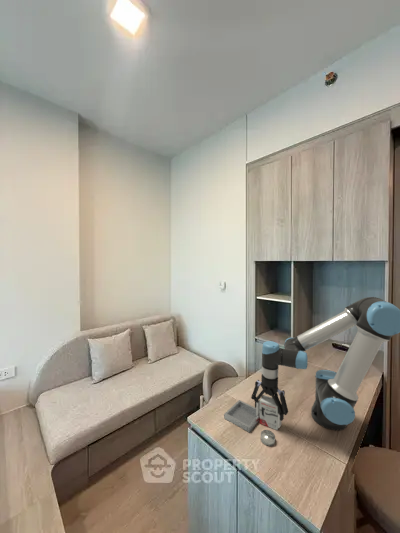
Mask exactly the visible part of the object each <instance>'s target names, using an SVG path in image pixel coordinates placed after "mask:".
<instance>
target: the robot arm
mask: <svg viewBox="0 0 400 533" xmlns="http://www.w3.org/2000/svg"><path fill="white" fill-rule="evenodd" d="M355 326H356V328H357V332H356V334H355V336H354V338H353V340H352V342H351V344H350V346H349V348H348V350H347V352H346V354H345V356H344V358H343V360H342V362H341V364H340V366H339V368H338V370H337V372H336V371H333V370H330V369H319V370H316V372H315V376H314V377H315V398H314V399H315V400H314V402H313V404H312V406H311V413H310V414H311V418H312V420H314V422H316V424H319V425H320V426H322V427H324V428H325V429H328V430H331V431H332V430H333V431H342V430H345V429H347V426H348V425H349V424H352V423H353V422H354V420H355V418H356V412H355V411H356V410H355V409H354V408H355V406H356V404H357V402H358V401H359V396H358V393H357V391H359V390H358V389H359V388H360V386H361V384H362V382H363V380H364V379H365V377H366V375H367V372H368V371H369V369H370V368H371V366H372V363H373V361H374V359H375V358H376V356H377V354H378V352H379V350H380V348H381V346H382V345H383V343H386V342H390V340H391V339H392V337H393V336H395V335H398V334H399V333H400V308H399V307H397V306H396V305H395V304H393V303H391V302H389V301H386V300H383V299H382V298H380V297H374V296H368V297H367V296H366V297H364V298H361V299H359V300H357V301H355V302H353V303H351V304H350V305H347V306H346V307H345V308H344V310H343V311H341V312H340V313H337V314H336V315H334V316H332V317H330V318H329V319H326V320H325V321H323V322H321V323H319V324H317V325H316V326H313V327H311V328H310V329H308V330H306V331H303V333H300V334H298V335H297V336H295V337H288V338H286V339H285V341H284V344H283V348H281V347H280V344H279V343H278V342H275V341H271V340H267V341H264V342H263V343H262V349H261V350H262V351H261V377H260V378H261V379H260V380H261V381H260V380H259V379H257V380H256V381H255V382H254V389H253V392H252V394H251V397H250V398H251V399H252V400H253V401H254V407H255V408H256V416H257V415H258V414H259V413H260V399H261V397H262V395H267V396H269V397H271V398H273V399H274V401H275V404H276V405H277V406H278V410H279V413H278V429H279V428H280V427H281V426H282V422H283V420H284V419H285V418H284V417H285V416H287V414H288V413H289V409H288V405H287V404H288V403H287V400H286V396H285V394H286V391H285V390H281V389H279V387H278V386H279V366H281V367H282V366H283V367H287V368H291V369H297V370H306V369H308V364H309V363H308V353H307V352H306V351H309V349H311V348H314V347H316V346H318V345H320V344H322V343H324V342H325V341H327V340H330V339H331V338H334V337H336V336H338V335H340V334H341V333H343V332H345V331H347V330H349V329H351V328H353V327H355ZM260 387H261V389H262V390H261V391H260V393H259V394H258V391H259V388H260Z"/></svg>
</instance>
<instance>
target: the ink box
mask: <svg viewBox="0 0 400 533" xmlns="http://www.w3.org/2000/svg"><path fill="white" fill-rule="evenodd" d="M259 400H260V421H259V424H260V425H263V426H265V427H267V428H270V429H272V430H275V431H278V430H279V428H278V413H279V410H278V406H277V405H276V404H275V401H274V399H273V398H272V396H269V395H266V394H263V395H262V396H261V398H260V399H259Z"/></svg>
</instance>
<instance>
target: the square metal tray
mask: <svg viewBox="0 0 400 533" xmlns="http://www.w3.org/2000/svg"><path fill="white" fill-rule="evenodd" d="M223 416H224V420H226V421H228V422H229V423H231V424H233V425H235V426H237V427H238V428H240V429H242V430H243V431H245V432H247V433H249V434H250V433H251V432H252V431H253V430H254V429H255V428H256V426H257V425H258V423H260V413H259V414H258V415H257V416H256V408H255V406H253V405H250V404H249V403H246V402H244V401H242V400H240V399H238V400H237V401H236V402H235V403H234V404H233V405H232V406H230V408H229V409H228V410H227V411H225V412H224V414H223Z"/></svg>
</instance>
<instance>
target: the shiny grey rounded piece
mask: <svg viewBox="0 0 400 533" xmlns="http://www.w3.org/2000/svg"><path fill="white" fill-rule="evenodd" d="M260 442H261V443H262V444H263V445H264V446H266V447H273V446H275V444H276V435H275V433H274V432H273V431H271V430H269V429H263V430H262V431H260Z"/></svg>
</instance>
